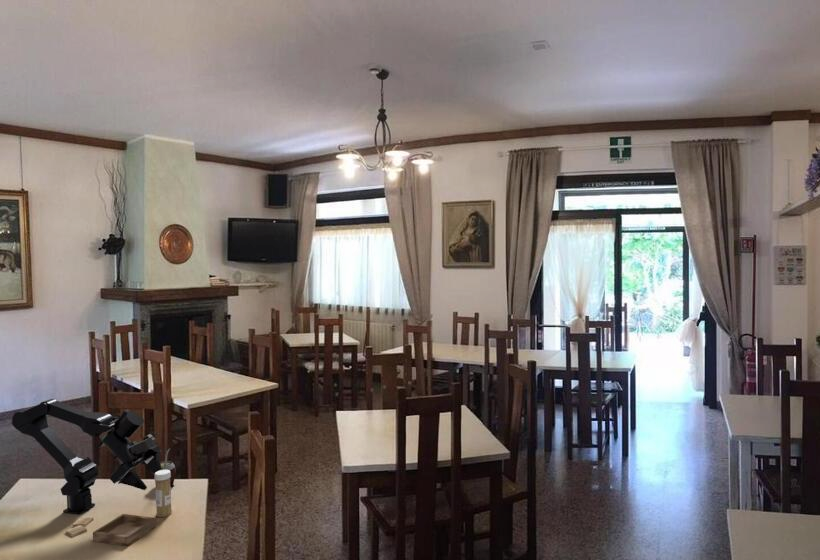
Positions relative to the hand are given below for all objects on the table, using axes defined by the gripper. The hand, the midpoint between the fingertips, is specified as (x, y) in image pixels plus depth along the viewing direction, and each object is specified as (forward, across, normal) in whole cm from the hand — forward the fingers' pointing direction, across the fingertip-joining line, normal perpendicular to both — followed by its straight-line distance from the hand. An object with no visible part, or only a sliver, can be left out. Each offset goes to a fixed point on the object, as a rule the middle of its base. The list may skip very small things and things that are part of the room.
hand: (155, 482), depth 175 cm
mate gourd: (+1, +19, +13) cm, 23 cm away
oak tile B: (-4, -14, +19) cm, 24 cm away
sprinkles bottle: (+9, 0, +5) cm, 10 cm away
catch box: (+6, -13, +8) cm, 16 cm away
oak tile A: (-6, -9, +20) cm, 23 cm away
